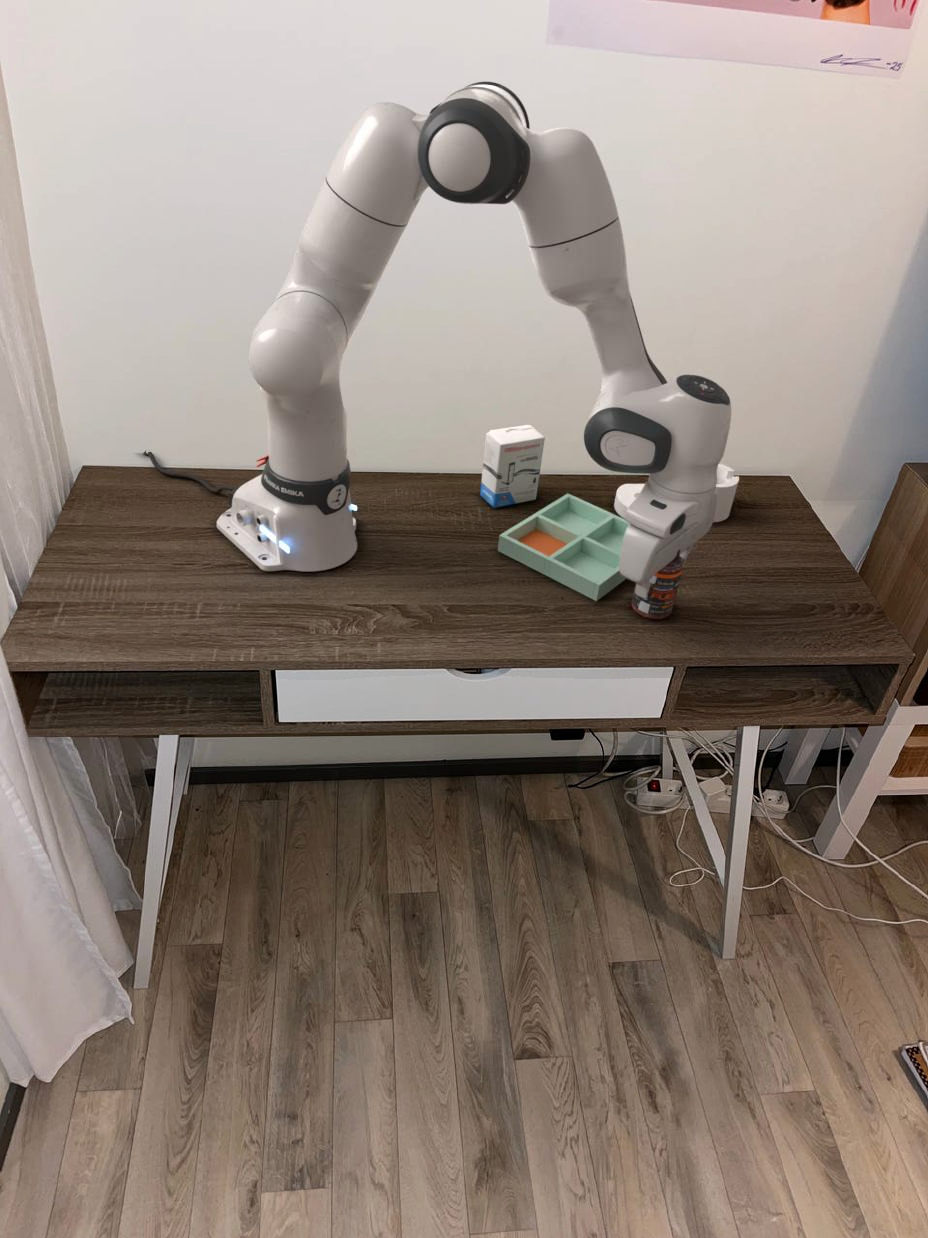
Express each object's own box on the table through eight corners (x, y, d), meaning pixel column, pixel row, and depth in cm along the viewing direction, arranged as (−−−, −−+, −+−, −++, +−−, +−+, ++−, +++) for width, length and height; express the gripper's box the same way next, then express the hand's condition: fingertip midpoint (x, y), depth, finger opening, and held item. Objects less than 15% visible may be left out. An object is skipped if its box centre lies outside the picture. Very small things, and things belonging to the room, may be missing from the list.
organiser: (497, 550, 156) (499, 534, 154) (565, 508, 168) (567, 493, 166) (596, 601, 147) (599, 585, 145) (660, 552, 159) (664, 537, 157)
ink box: (493, 509, 166) (500, 444, 159) (478, 494, 169) (485, 430, 162) (537, 499, 169) (546, 436, 162) (522, 485, 173) (530, 423, 165)
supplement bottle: (646, 625, 143) (662, 559, 137) (622, 602, 147) (636, 537, 141) (679, 616, 146) (696, 550, 139) (655, 593, 150) (670, 528, 143)
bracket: (719, 495, 175) (728, 461, 171) (736, 521, 168) (746, 487, 164) (608, 495, 172) (614, 460, 168) (621, 523, 165) (628, 487, 161)
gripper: (695, 462, 143) (676, 543, 152) (618, 514, 130) (602, 601, 139) (735, 478, 140) (714, 560, 149) (661, 533, 127) (642, 620, 136)
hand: (659, 580), depth 144 cm, fingers open, 8 cm apart
